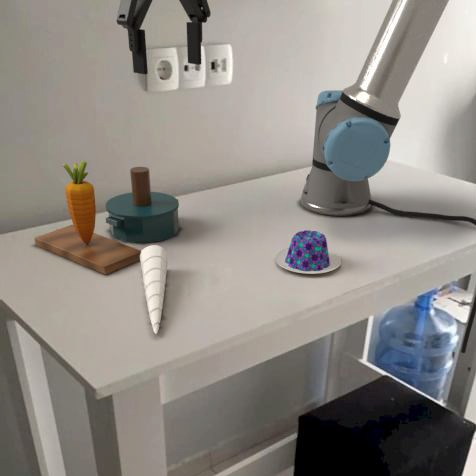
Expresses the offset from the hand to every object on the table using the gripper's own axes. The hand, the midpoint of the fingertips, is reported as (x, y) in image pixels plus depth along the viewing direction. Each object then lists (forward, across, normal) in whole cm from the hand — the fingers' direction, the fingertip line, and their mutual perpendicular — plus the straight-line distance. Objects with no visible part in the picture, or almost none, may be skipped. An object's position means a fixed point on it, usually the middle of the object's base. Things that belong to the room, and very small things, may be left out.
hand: (168, 68), depth 112 cm
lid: (+24, -6, +3) cm, 25 cm away
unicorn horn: (+29, -25, -20) cm, 43 cm away
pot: (+29, -6, +3) cm, 29 cm away
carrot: (+27, -20, +3) cm, 34 cm away
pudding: (+29, +2, -31) cm, 42 cm away
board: (+29, -20, +3) cm, 35 cm away
